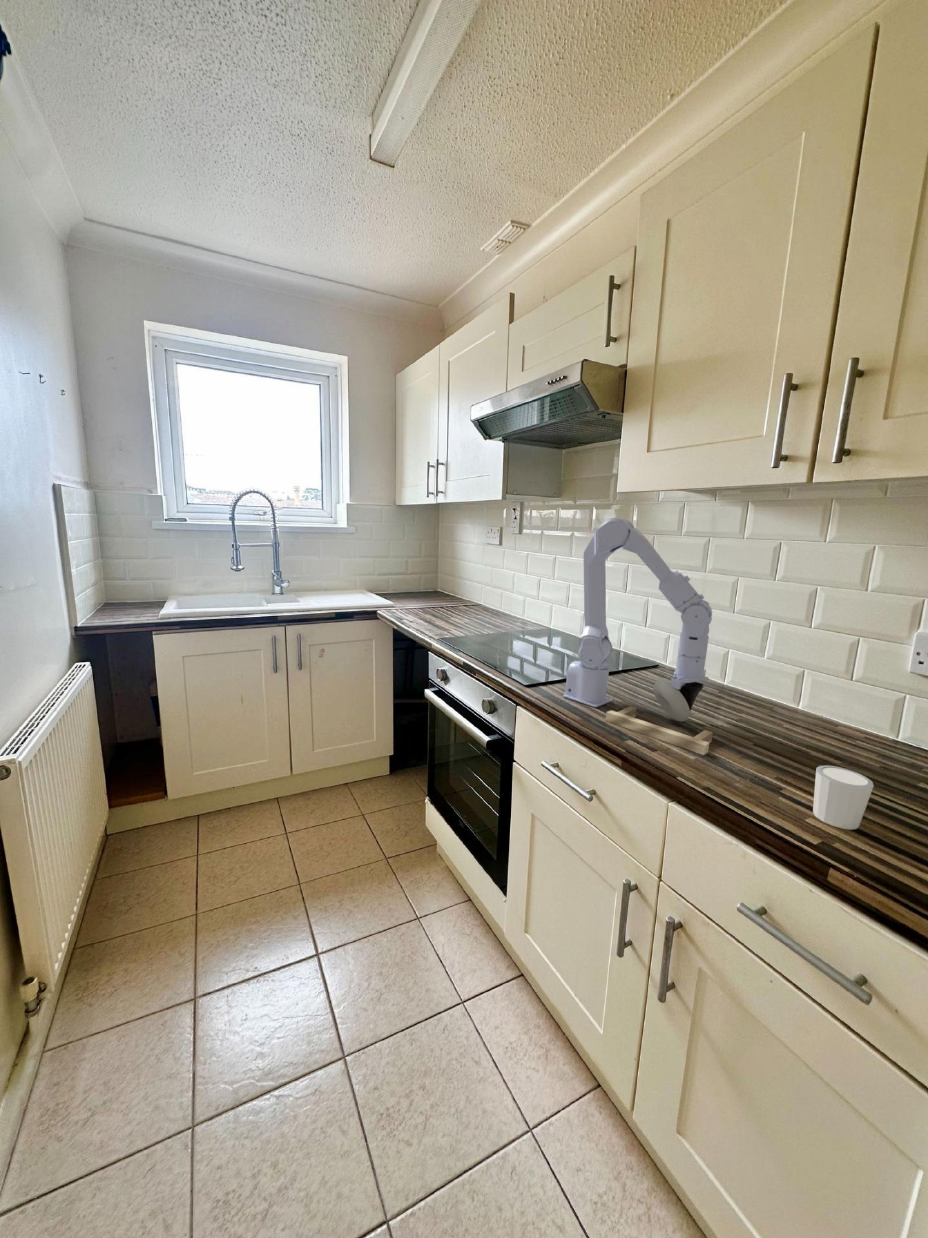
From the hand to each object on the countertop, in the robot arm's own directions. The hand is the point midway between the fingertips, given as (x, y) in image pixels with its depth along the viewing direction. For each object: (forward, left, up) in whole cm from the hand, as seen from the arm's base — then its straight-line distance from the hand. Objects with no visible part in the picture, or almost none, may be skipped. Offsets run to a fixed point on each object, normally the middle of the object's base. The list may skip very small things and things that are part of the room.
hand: (683, 713), depth 111 cm
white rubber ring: (0, -2, -1) cm, 2 cm away
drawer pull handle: (0, -12, -2) cm, 12 cm away
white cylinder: (+32, -22, -2) cm, 39 cm away
